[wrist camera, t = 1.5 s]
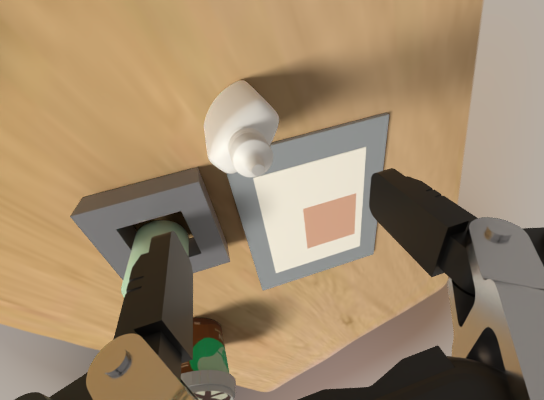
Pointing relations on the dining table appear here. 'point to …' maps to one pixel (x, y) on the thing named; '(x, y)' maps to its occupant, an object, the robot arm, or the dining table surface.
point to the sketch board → (313, 201)
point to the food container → (208, 363)
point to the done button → (144, 240)
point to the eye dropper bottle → (240, 131)
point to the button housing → (149, 205)
